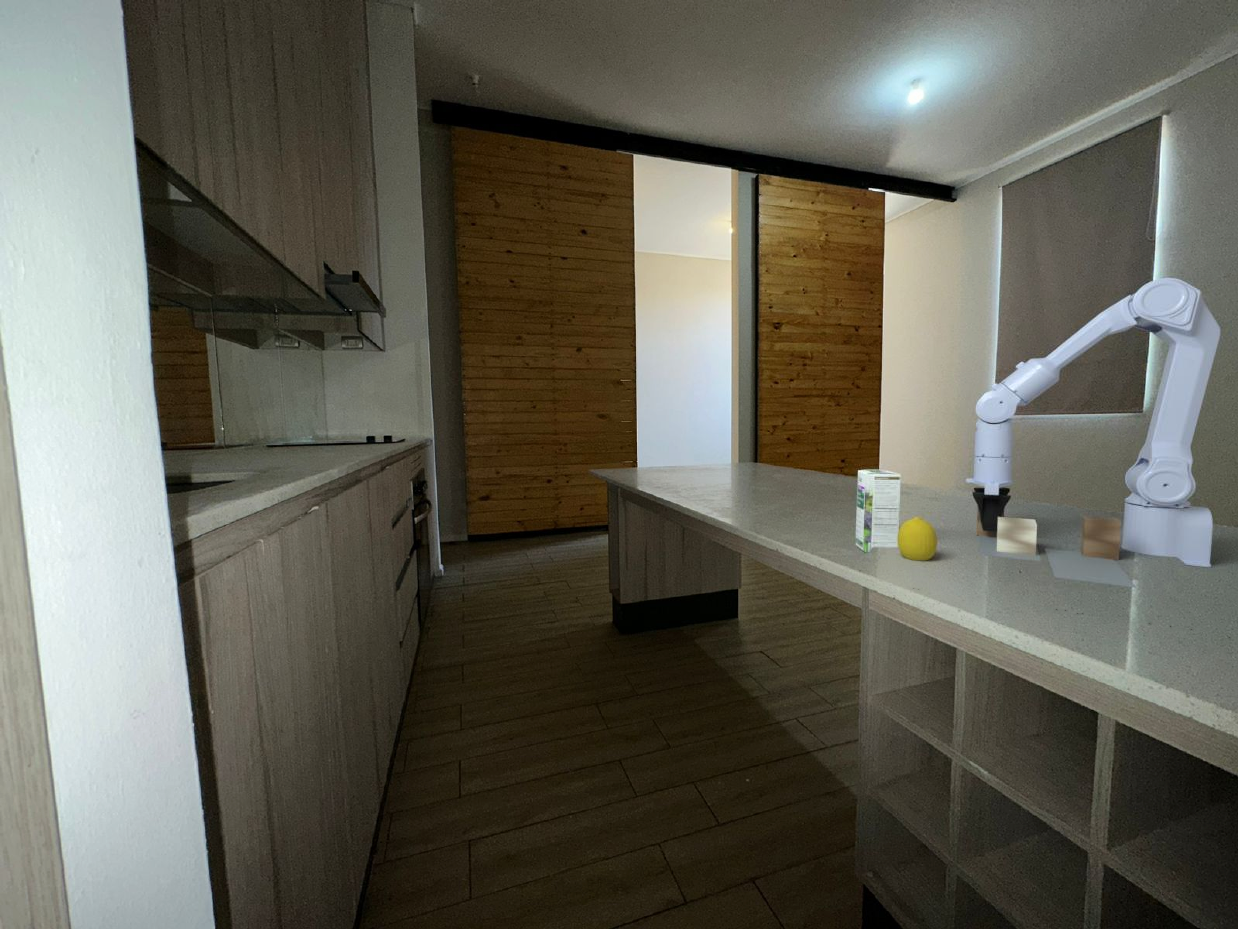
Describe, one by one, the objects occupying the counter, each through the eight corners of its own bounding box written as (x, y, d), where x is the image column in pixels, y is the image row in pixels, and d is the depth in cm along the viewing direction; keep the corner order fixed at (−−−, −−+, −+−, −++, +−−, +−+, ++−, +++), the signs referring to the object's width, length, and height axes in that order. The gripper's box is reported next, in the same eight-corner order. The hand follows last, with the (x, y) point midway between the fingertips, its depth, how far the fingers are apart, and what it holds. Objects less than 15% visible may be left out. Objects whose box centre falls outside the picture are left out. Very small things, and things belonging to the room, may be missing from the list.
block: (1033, 548, 84) (1034, 519, 84) (1035, 555, 80) (1037, 525, 80) (996, 544, 87) (997, 516, 87) (996, 551, 83) (998, 521, 83)
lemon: (944, 569, 78) (945, 519, 77) (908, 570, 78) (909, 520, 77) (923, 559, 83) (924, 513, 83) (890, 560, 84) (891, 513, 83)
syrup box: (854, 545, 94) (855, 469, 92) (887, 545, 93) (889, 468, 92) (864, 553, 88) (866, 472, 87) (900, 553, 87) (902, 472, 86)
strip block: (1033, 542, 91) (1035, 505, 91) (1040, 567, 77) (1043, 523, 76) (976, 537, 97) (978, 501, 96) (973, 559, 82) (975, 517, 82)
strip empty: (1114, 561, 79) (1117, 518, 78) (1141, 595, 65) (1144, 542, 64) (1044, 554, 84) (1046, 513, 83) (1054, 583, 70) (1057, 535, 69)
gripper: (968, 453, 101) (965, 518, 102) (965, 458, 89) (962, 532, 91) (1012, 453, 97) (1009, 522, 98) (1015, 459, 85) (1011, 537, 86)
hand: (989, 527), depth 94 cm, fingers open, 6 cm apart
